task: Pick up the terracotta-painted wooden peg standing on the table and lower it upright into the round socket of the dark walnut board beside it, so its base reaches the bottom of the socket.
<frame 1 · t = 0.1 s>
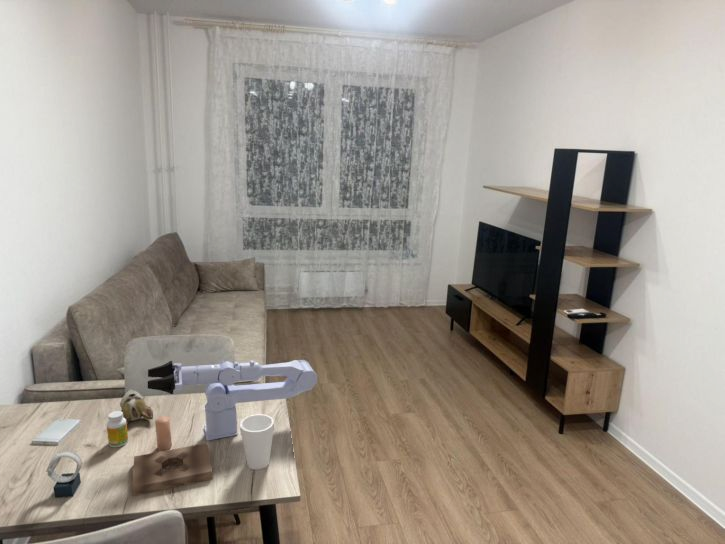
hand: (147, 378, 149), 22 cm above the table, fingers open, 7 cm apart
peg: (164, 447, 153), on the table
socket board: (173, 471, 142), on the table
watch: (67, 490, 133), on the table
hard drive: (57, 434, 159), on the table
foam cup: (258, 463, 146), on the table
ceramic sculpture: (134, 418, 168), on the table
supplement bottle: (118, 443, 154), on the table
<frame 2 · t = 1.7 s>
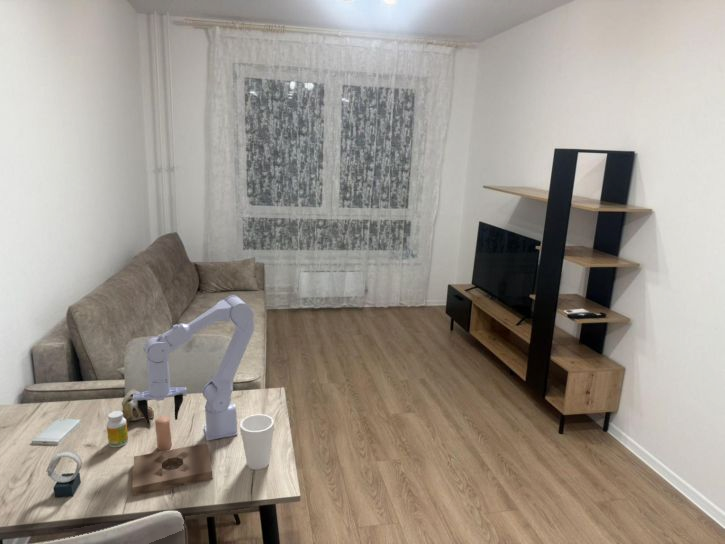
hand: (162, 420, 150), 9 cm above the table, fingers open, 7 cm apart
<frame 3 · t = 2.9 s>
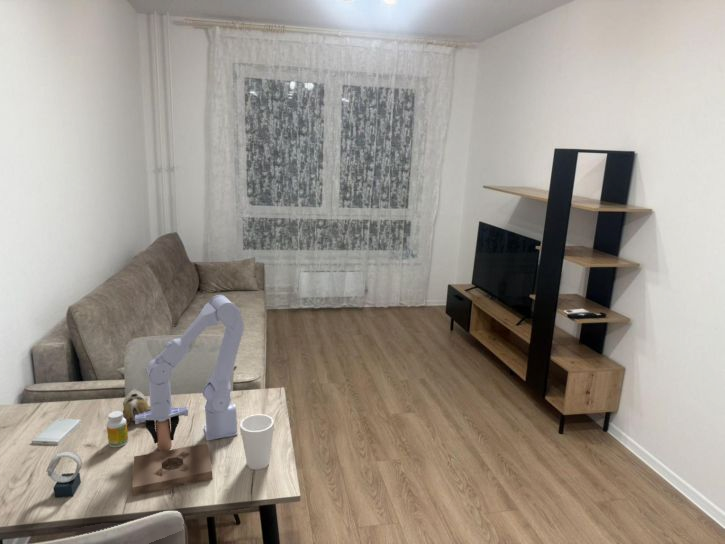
hand: (164, 439, 152), 2 cm above the table, fingers closed on peg, 4 cm apart
peg: (164, 447, 153), on the table, touching gripper
everything else where it was.
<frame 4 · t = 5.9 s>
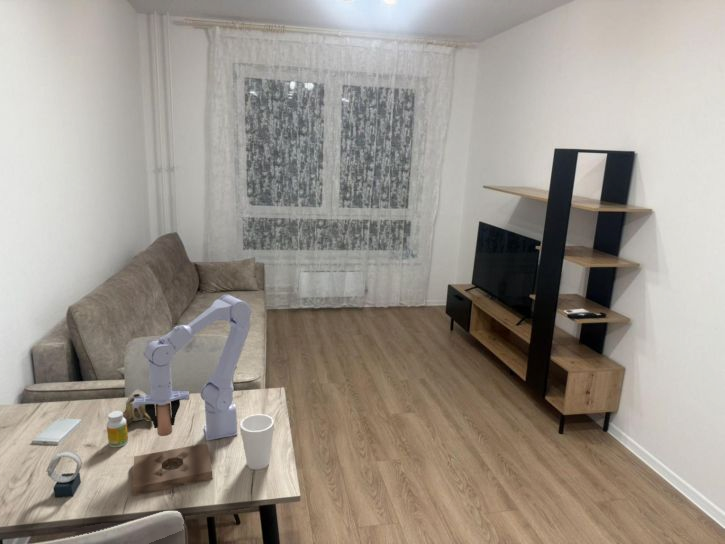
hand: (164, 424, 147), 9 cm above the table, fingers closed on peg, 4 cm apart
peg: (165, 432, 148), point 7 cm above the table, touching gripper
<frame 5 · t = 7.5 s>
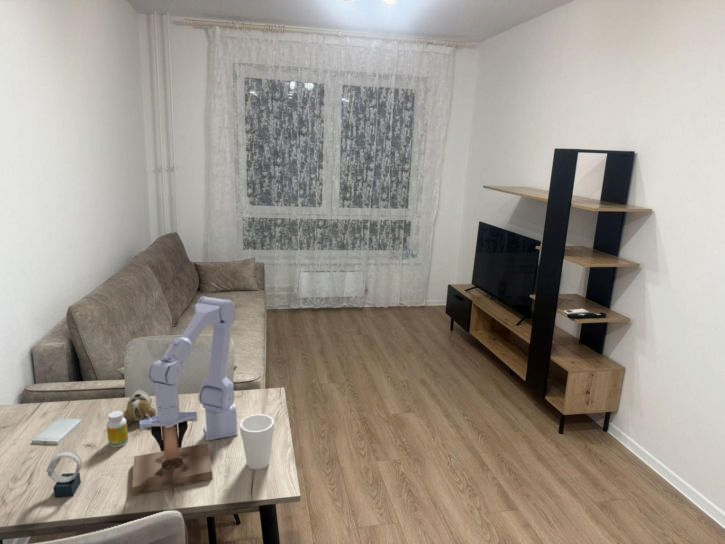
hand: (171, 447, 140), 8 cm above the table, fingers closed on peg, 4 cm apart
peg: (171, 455, 140), point 5 cm above the table, touching gripper
when the fingers open (4 cm above the table, at t = 8.7 s): peg drops 2 cm, resting in socket board.
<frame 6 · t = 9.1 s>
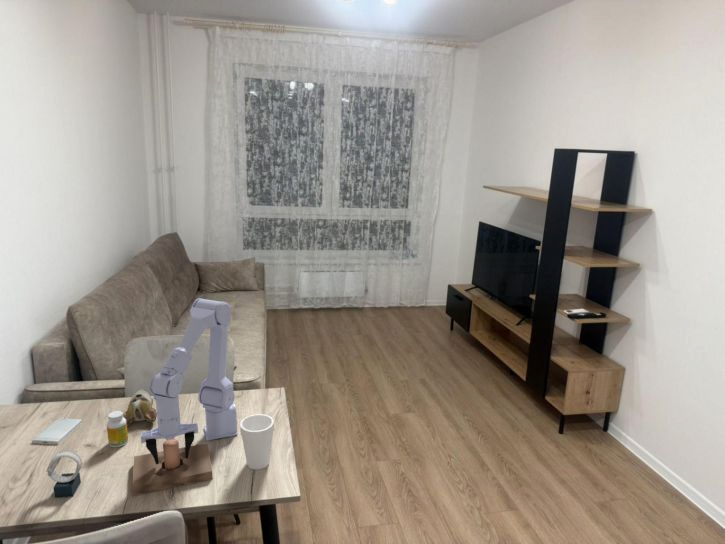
hand: (172, 459, 141), 4 cm above the table, fingers open, 7 cm apart
peg: (173, 471, 142), resting in socket board
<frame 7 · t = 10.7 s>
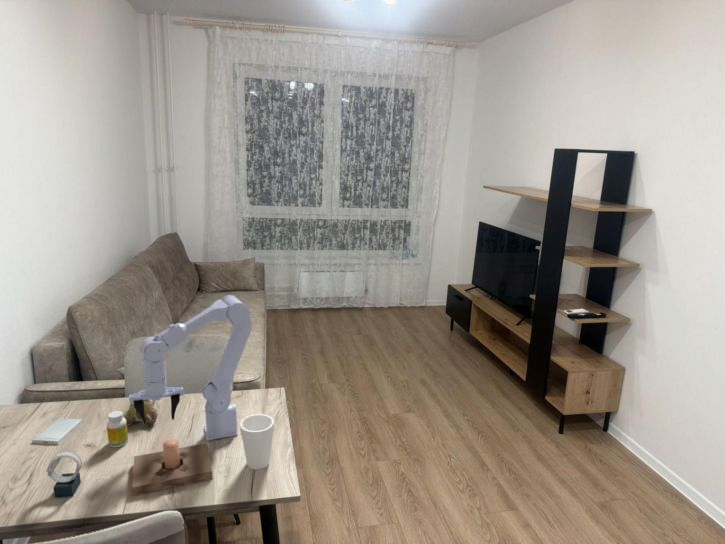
hand: (159, 420, 150), 9 cm above the table, fingers open, 7 cm apart
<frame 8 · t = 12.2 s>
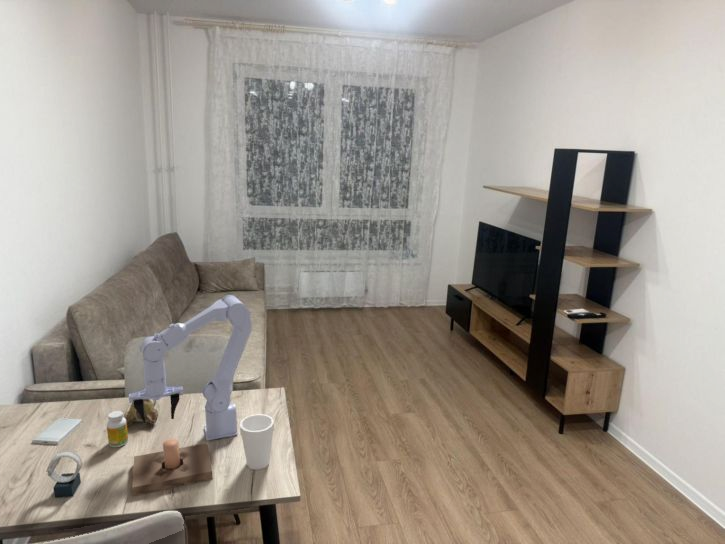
hand: (158, 419, 150), 9 cm above the table, fingers open, 7 cm apart
at the end: peg 0.0 cm from the socket board (horizontally); peg resting in socket board; peg tilted 0° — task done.
